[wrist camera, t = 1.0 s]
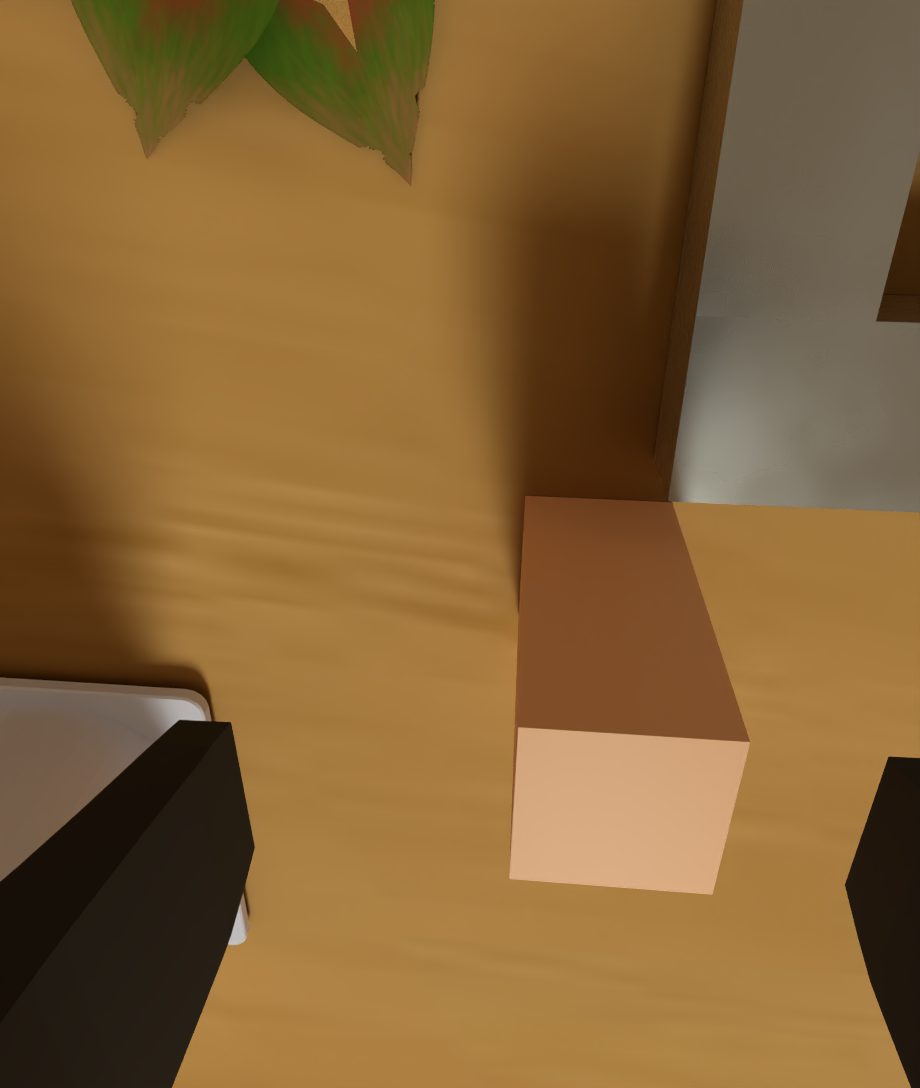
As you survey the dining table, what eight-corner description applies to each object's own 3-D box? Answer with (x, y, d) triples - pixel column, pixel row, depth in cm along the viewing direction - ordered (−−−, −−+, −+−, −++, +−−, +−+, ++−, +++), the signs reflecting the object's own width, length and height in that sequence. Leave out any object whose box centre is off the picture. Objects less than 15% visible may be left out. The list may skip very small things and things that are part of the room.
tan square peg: (653, 622, 18) (712, 894, 12) (518, 615, 18) (509, 879, 12) (671, 502, 17) (750, 742, 10) (525, 495, 17) (518, 727, 11)
